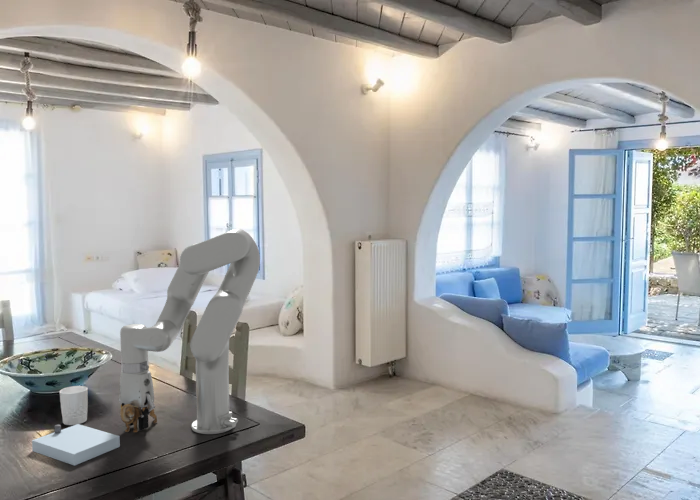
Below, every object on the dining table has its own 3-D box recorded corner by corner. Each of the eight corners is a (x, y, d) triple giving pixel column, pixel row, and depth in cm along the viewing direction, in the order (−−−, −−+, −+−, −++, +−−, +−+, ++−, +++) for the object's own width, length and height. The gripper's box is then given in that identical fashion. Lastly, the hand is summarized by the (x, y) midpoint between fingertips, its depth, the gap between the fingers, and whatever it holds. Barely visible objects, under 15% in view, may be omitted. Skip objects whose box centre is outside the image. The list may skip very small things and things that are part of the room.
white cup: (94, 419, 191) (93, 387, 190) (73, 427, 184) (72, 395, 183) (76, 415, 195) (75, 384, 194) (55, 423, 188) (53, 391, 187)
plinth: (119, 446, 170) (119, 429, 170) (74, 465, 158) (73, 446, 158) (78, 434, 179) (77, 417, 179) (32, 451, 167) (31, 433, 167)
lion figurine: (131, 438, 176) (130, 407, 175) (115, 436, 178) (114, 405, 177) (161, 420, 190) (160, 391, 189) (146, 418, 192) (145, 390, 191)
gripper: (165, 367, 180) (167, 428, 181) (126, 360, 188) (128, 418, 190) (144, 374, 173) (146, 437, 175) (105, 365, 182) (107, 426, 184)
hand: (137, 426), depth 182 cm, fingers open, 4 cm apart
